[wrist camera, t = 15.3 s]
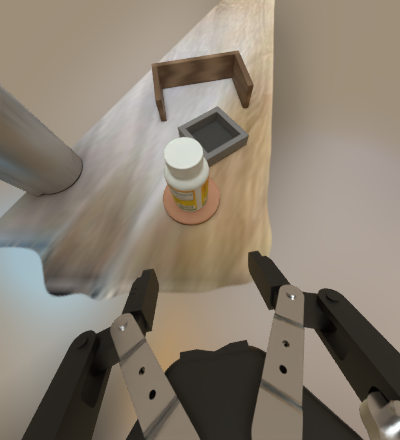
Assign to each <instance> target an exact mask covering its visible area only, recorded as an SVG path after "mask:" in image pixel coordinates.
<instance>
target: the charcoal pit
mask: <svg viewBox="0 0 400 440" xmlns="http://www.w3.org/2000/svg"><path fill="white" fill-rule="evenodd" d="M178 130H179V135H180V138H181V137H188V138H192V139H194V140H196V141H197V142H199V144H200V145H201V146H202V149H203V157H204V158H205V159H206V161H207V163H208V166H211V165H213V164H214V163H216V162H218V161H219V160H221V159H222V158H224V157H226V156H227V155H229V154H231V153H232V152H234V151H236V150H237V149H239V148H241V147H242V146H244V145H245V144H246V143H247V140H248V136H249V135H248V134H247V133H246V132H245V131H244V130H243V129H242V128H241V127H240V126H239V125H238V124H236V123H235V122H234V121H233V120H232V119H231V118H230V117H229V116H228V115H227V114H226V113H225V112H224V111H222V110H221V109H220V108H219V107H218V106H217V107H215V108H214V109H212V110H210V111H208V112H206V113H204V114H202V115H201V116H199V117H197V118H195V119H193V120H191V121H190V122H188V123H186V124H184V125H182V126H180V127H178Z"/></svg>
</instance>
